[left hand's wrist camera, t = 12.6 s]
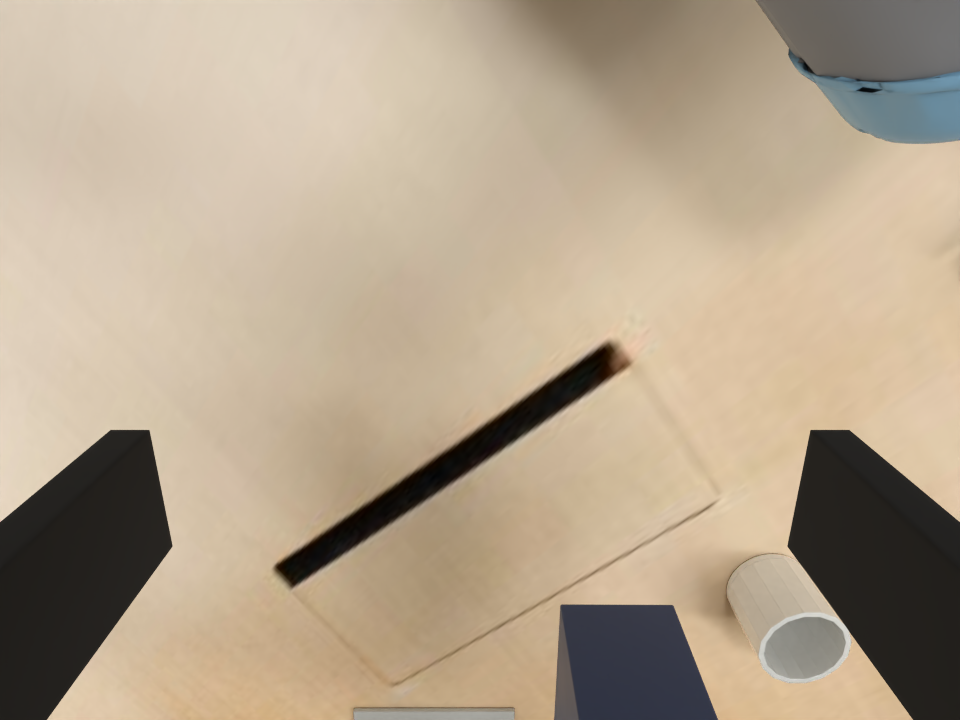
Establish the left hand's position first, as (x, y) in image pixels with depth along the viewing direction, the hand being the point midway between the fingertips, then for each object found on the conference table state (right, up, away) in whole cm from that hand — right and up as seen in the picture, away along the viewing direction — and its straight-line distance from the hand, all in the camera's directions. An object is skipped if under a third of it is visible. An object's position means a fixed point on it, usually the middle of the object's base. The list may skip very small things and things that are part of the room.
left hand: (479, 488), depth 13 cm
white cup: (+23, -16, +39) cm, 47 cm away
